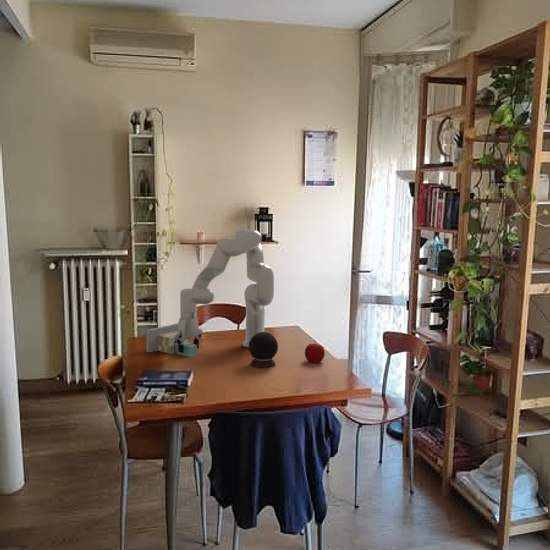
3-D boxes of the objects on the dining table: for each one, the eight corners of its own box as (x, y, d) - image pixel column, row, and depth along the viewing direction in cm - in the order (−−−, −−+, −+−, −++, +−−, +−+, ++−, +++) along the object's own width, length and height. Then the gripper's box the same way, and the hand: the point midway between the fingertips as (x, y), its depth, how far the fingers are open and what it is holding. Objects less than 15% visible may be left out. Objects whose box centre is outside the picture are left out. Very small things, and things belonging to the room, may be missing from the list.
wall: (183, 344, 272) (183, 323, 270) (148, 353, 255) (148, 330, 253) (181, 343, 273) (181, 322, 271) (146, 352, 256) (146, 330, 254)
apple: (301, 363, 244) (301, 341, 243) (309, 358, 252) (309, 337, 251) (319, 366, 240) (320, 344, 238) (327, 361, 248) (328, 340, 246)
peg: (197, 355, 254) (197, 345, 253) (189, 357, 250) (189, 347, 249) (177, 349, 262) (177, 339, 262) (169, 351, 258) (169, 341, 258)
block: (188, 349, 262) (187, 333, 261) (170, 354, 253) (170, 338, 252) (175, 346, 267) (175, 330, 266) (158, 350, 259) (158, 334, 258)
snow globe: (258, 358, 249) (259, 327, 247) (282, 363, 243) (283, 331, 241) (242, 365, 238) (243, 333, 236) (267, 371, 231) (268, 337, 229)
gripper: (196, 311, 260) (196, 345, 262) (169, 316, 246) (169, 352, 249) (207, 313, 255) (207, 347, 258) (179, 319, 242) (180, 355, 244)
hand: (188, 350), depth 253 cm, fingers open, 9 cm apart
